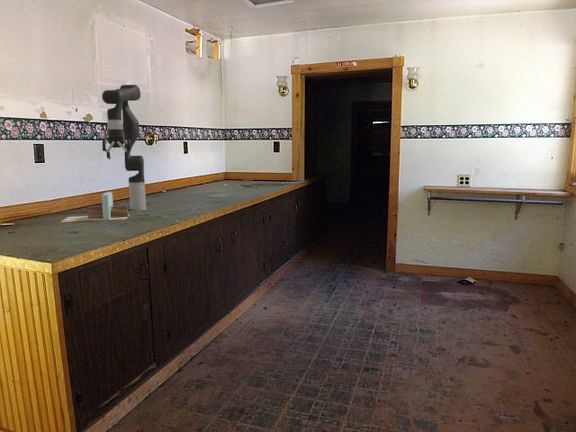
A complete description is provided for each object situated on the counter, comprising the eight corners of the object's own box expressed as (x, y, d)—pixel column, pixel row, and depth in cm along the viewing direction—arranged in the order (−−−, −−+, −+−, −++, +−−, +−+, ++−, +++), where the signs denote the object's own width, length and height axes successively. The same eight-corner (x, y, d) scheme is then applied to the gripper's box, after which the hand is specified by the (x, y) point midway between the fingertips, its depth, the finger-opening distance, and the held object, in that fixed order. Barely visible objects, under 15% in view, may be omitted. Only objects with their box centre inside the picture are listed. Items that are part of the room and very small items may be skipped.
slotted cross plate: (108, 215, 239) (106, 192, 237) (113, 215, 240) (112, 192, 238) (103, 219, 226) (101, 195, 224) (109, 219, 226) (107, 195, 224)
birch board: (68, 218, 236) (68, 216, 236) (130, 215, 243) (130, 214, 243) (60, 223, 221) (60, 221, 220) (126, 220, 228) (126, 219, 227)
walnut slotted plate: (89, 217, 232) (88, 206, 231) (128, 216, 236) (127, 205, 235) (88, 218, 230) (87, 207, 229) (127, 216, 234) (127, 206, 233)
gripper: (130, 128, 236) (132, 158, 239) (102, 128, 233) (105, 159, 236) (128, 128, 229) (130, 159, 232) (99, 128, 226) (102, 159, 228)
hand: (117, 159), depth 234 cm, fingers open, 8 cm apart
